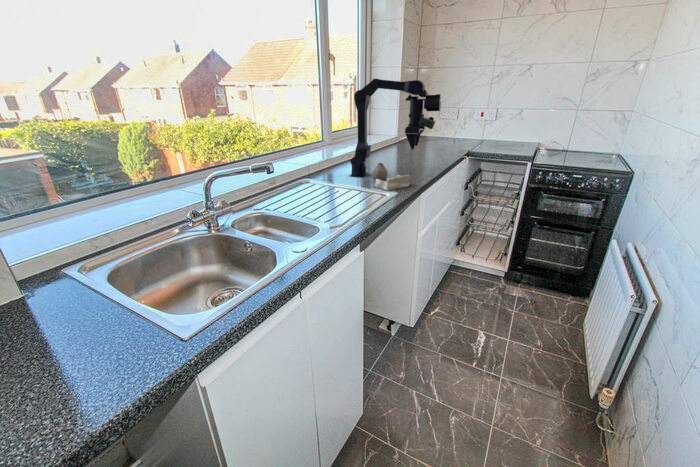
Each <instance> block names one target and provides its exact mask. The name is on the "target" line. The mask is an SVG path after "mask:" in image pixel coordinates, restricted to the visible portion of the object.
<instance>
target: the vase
mask: <svg viewBox="0 0 700 467" xmlns="http://www.w3.org/2000/svg"><path fill="white" fill-rule="evenodd" d="M376 179H379V180H382V181H385V182H387V179H388V169H387V168H386V167H385V165H384V163H383V162H378V163H377V164H376V166H375V167H374V169H373V170H372V180H373V181H374V182H375V181H376Z"/></svg>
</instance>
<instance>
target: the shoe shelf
mask: <svg viewBox="0 0 700 467" xmlns="http://www.w3.org/2000/svg"><path fill="white" fill-rule="evenodd" d="M374 183H375V184H374V185H375V187H376V188H379V189H381V190H384V191H388V192H389V191H393V190H397V189H402V188H406V187H410V186H411V174H405V175H400V174H396V175H395V177H390V178H389V177H388V178H387V179H386V181H382V180H379V179H376V181H374Z"/></svg>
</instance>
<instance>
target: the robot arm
mask: <svg viewBox="0 0 700 467" xmlns="http://www.w3.org/2000/svg"><path fill="white" fill-rule="evenodd" d="M378 89H380V90H381V89H382V90H390V91H391V90H392V91H399V92H405V93H407V94H408V96H407V97H406V98H405V99H404V100H405V101H406V102H408V101H409V113H408V118H409V121H408V124H407V126H406V127H405V128H404V134H405V136H406V138H407V141H408V144H409V146H410V149H411V150H414V149H415V147H418V145H419V142H420V138H421V134H423V132H424V131H425V129H426V128H427V129H429V130H433V129H434V127H435V124H436V120H435V119H434V117H432V116H430V117H425V114H424V110H425V111H426V112H441V108H442V107H441V106H442V102H441V98H442V96H441V93H438V94H429V93H428V92H427V90H426V86H425V83H424V81H422V80H419V79H418V80H417V79H415V80H407V81H398V80H390V79H389V80H388V79H380V78H373V79H372V80H371V81H370V82H369V83H367V84H366V85H365V86H364V87H362V88H361V89H358V90H356V92H355V93H354V95H353V99H354V100H353V101H354V105H355V108H356V111H357V143H356V146H355V150H354V151H355V152H354V156H353V157H352V158H351V159H350V160H349V162H350V165H351V174H350V177H355V178H356V177H357V178H364V177H365V176H366V175H367V165H366V161H367V160H368V158H370V155H371V154H372V151H371V149H372V145H371V144H369V143H368V109H369V105H370V102H371V97H372V96H373V95H374V94H375V93H376V92H377V91H378ZM412 95H413V96H412Z"/></svg>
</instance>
